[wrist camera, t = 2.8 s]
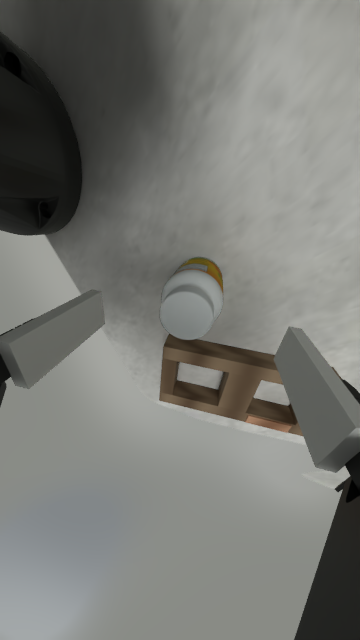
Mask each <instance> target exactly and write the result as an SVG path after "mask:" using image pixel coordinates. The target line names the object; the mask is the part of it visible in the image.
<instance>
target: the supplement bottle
mask: <svg viewBox="0 0 360 640" xmlns="http://www.w3.org/2000/svg"><path fill="white" fill-rule="evenodd" d="M161 303H162V305H161V307H160V320H161V323H162V325H163V327H164V328H165V329H166V330H167V331H168V332H169V333H170V334H171V335H173V336H175V337H177V338H180V339H184V340H194V339H197V338H200V337H202V336H203V335H205V334H206V333H207V332H208V331H209V330H210V328H211V326H212V323H213V322H214V321H215V320H216V319H217V318H218V316H219V315H220V313H221V310H222V306H223V280H222V274H221V271H220V269H219V267H218V266H217V265H216V264H215V263H214V262H213V261H211V260H209V259H207V258H203V257H196V258H192V259H189V260H187V261H186V262H185V263H183V264H182V265H181V266H180V267H179V269H178V270H177V271H176V272H175V273H174V274H173V275H172V277H171V278H170V279H169V280H168V281H167V283H166V284H165V286H164V288H163V291H162V296H161Z"/></svg>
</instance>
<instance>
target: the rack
mask: <svg viewBox="0 0 360 640" xmlns="http://www.w3.org/2000/svg"><path fill="white" fill-rule="evenodd" d="M274 357H275V355H270V354H265V353H260V352H255V351H250V350H246V349H241V348H236V347H231V346H226V345H221V344H216V343H211V342H206V341H201V340H196V339H194V340H184V339H180V338H177V337H175V336H173V335H171V334H169V335H168V338H167V340H166V342H165V344H164V347H163V360H162V372H161V385H160V398H159V400H160V401H164V402H168V403H172V404H176V405H180V406H184V407H188V408H192V409H196V410H200V411H204V412H208V413H212V414H216V415H220V416H224V417H228V418H232V419H236V420H240V421H244V422H247V423H251V424H255V425H259V426H263V427H267V428H271V429H275V430H279V431H283V432H288V433H292V434H296V435H300V436H303V434H302V431H301V429H300V426H299V423H298V421H297V418H296V416H295V413H294V411H293V408H292V405H291V404H290V405H289V406H285V405H280V404H276V403H272V402H267V401H263V400H259V399H255V398H253V396H254V394H255V392H256V390H257V388H258V386H259V384H260V381H261V380H264V381H269V382H273V383H278V384H282V385H283V382H282V380H281V377H280V374H279V372H278V369H277V367H276V364H275V362H274ZM179 362H183V363H187V364H192V365H196V366H201V367H205V368H210V369H214V370H219V371H224V374H223V377H222V380H221V383H220V386H219V389H218V390H216V389H212V388H207V387H203V386H199V385H194V384H190V383H186V382H182V381H177V374H178V367H179ZM331 368H332V369H333V370H334V372H335V373H336V374H337V376H338V377H339V378H340V379H342V378H341V377H340V376H339V374H338V373H337V372H336V371H335V369H334V368H333V367H331Z"/></svg>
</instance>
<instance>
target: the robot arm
mask: <svg viewBox="0 0 360 640" xmlns="http://www.w3.org/2000/svg"><path fill="white" fill-rule="evenodd" d="M81 181H82V173H81V161H80V154H79V149H78V144H77V140H76V136H75V133H74V130H73V127H72V124H71V121H70V119H69V116H68V114H67V111H66V109H65V107H64V105H63V103H62V101H61V99H60V97H59V95H58V93H57V92H56V90H55V88H54V87H53V85H52V84H51V82H50V81H49V79H48V78H47V76H46V75H45V74H44V72H43V71H42V70H41V69H40V67H39V66H38V65H37V64H36V63H35V62H34V61H33V60H32V59H31V58H30V57H29V56H28V55H27V54H26V53H25V52H24V51H23V50H22V49H20V48H19V47H18V46H17V45H16V44H15V43H13V42H12V41H11V40H10V39H9V38H8V37H6V36H5V35H4V34H3V33H2V32H0V230H2V231H6V232H9V233H13V234H18V235H41V234H50V233H53V232H56V231H58V230H60V229H61V228H63V227H64V226H65V225H66V224H67V223H68V222H69V221H70V219H71V218H72V216H73V214H74V212H75V210H76V208H77V205H78V202H79V198H80V192H81ZM104 324H105V320H104V311H103V302H102V293H101V291H96V290H90V291H88V292H86V293H84V294H82V295H80V296H78V297H76V298H75V299H73V300H71V301H69V302H67V303H65V304H63V305H61V306H59V307H57V308H55V309H53V310H51V311H49V312H47V313H45V314H43V315H41V316H39V317H37V318H34V319H31V320H29V321H27V322H25V323H23V325H19V326H18V327H15V329H11V330H9V331H7V332H5V333H3V334H1V335H0V406H1V403H2V400H3V396H4V393H5V390H6V383H5V380H7V379H8V378H10V377H11V378H12V380H13V382H14V384H15V385H16V386H19V387H23V388H27V389H29V388H31V387H32V386H33V385H34V384H35V383H36V382H38V381H39V380H40V379H41V378H42V377H43V376H44V375H46V374H47V373H48V372H49V371H50V370H51V369H53V368H54V367H55V366H56V365H57V364H59V363H60V362H61V361H62V360H63V359H64V358H65V357H67V356H68V355H69V354H70V353H71V352H73V351H74V350H75V349H76V348H77V347H78V346H80V345H81V344H82V343H83V342H84V341H85V340H87V339H88V338H89V337H90V336H91V335H92V334H93V333H95V332H96V331H97V330H98V329H99V328H101V327H102V326H103V325H104ZM274 362H275V364H276V367H277V369H278V372H279V374H280V377H281V380H282V382H283V385H284V387H285V390H286V393H287V395H288V398H289V400H290V403H291V405H292V408H293V411H294V413H295V416H296V418H297V421H298V423H299V426H300V429H301V431H302V434H303V436H304V439H305V441H306V444H307V447H308V449H309V452H310V454H311V457H312V459H313V462H314V465H315V467H317V468H321V469H324V470H328V471H332V472H335V473H336V472H338V471H339V470H340V469H341V468H342V467H344V466H346V468H347V470H348V472H349V474H350V477H349V478H348V479H346V480H345V481H344V482H342V483H341V484H340V485H338V486H337V487H336V488H335V490H336V491H337V492H339V491H341V490H342V489H343V491H342V494H341V497H340V500H339V503H338V506H337V509H336V512H335V516H334V519H333V522H332V525H331V528H330V531H329V534H328V537H327V540H326V543H325V546H324V549H323V553H322V556H321V559H320V562H319V565H318V568H317V571H316V574H315V577H314V581H313V583H312V586H311V590H310V593H309V596H308V599H307V602H306V605H305V608H304V611H303V614H302V617H301V621H300V623H299V627H298V630H297V633H296V636H295V639H294V640H360V393H359V392H358V391H357V390H356V389H355V388H354V387H353V386H351V385H350V384H349V383H348V382H347V381H345V380H342V379H340V378H339V377H338V376H337V374H336V373H335V372H334V370H333V369H332V368H331V366H330V365H329V364H328V363H327V361H326V360H325V359H324V357H323V356H322V355H321V353H320V352H319V351H318V350H317V348H316V347H315V346H314V344H313V343H312V342H311V340H310V339H309V338H308V336H307V335H306V334H305V333H304V331H303V330H302V329H300V328H294V327H289V328H288V330H287V332H286V334H285V336H284V338H283V340H282V342H281V344H280V346H279V349H278V351H277V353H276V355H275V357H274Z"/></svg>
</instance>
